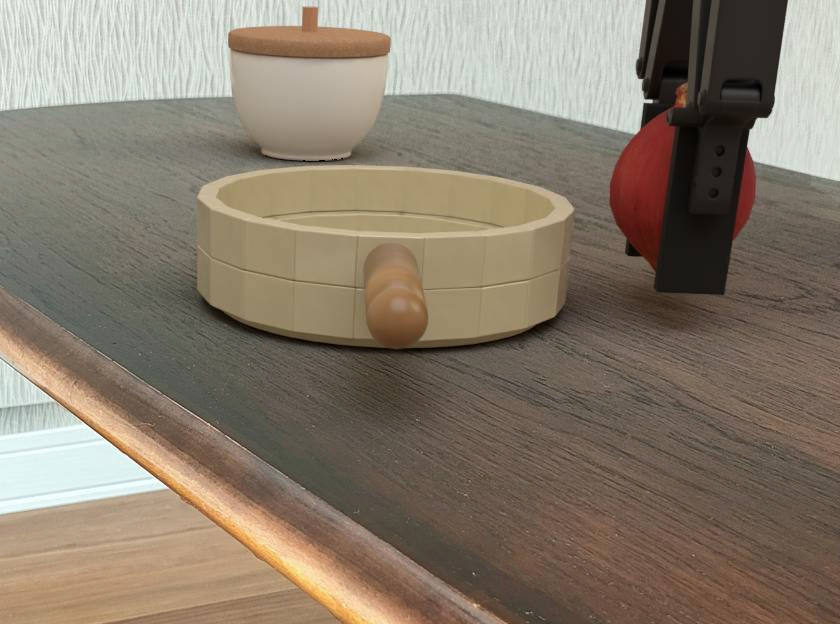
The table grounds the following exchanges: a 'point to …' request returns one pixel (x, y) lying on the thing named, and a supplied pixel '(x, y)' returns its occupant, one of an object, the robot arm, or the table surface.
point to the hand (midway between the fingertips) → (672, 271)
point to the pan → (372, 226)
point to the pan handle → (394, 296)
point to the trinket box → (308, 86)
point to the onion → (658, 185)
